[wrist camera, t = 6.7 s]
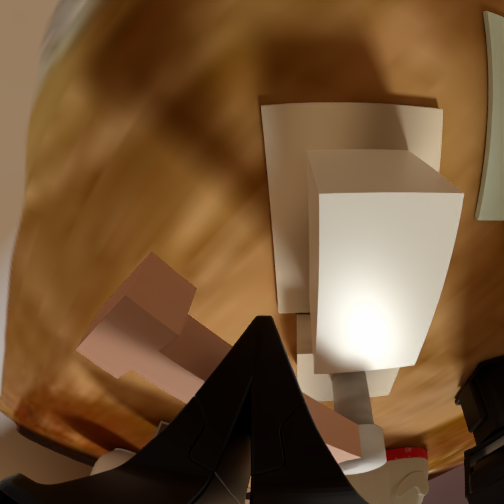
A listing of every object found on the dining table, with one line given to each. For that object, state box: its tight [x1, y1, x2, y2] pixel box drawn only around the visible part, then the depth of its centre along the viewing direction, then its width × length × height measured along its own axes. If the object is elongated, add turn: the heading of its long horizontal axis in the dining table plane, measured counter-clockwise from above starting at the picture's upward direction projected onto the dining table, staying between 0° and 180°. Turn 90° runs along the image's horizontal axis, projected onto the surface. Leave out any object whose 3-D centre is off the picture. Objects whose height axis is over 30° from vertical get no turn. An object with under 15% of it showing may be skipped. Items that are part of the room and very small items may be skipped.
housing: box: [261, 102, 443, 425], centre depth 13 cm, size 8×16×7 cm, turn 6°
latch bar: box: [76, 252, 387, 475], centre depth 10 cm, size 4×14×2 cm, turn 45°
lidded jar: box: [91, 448, 136, 475], centre depth 34 cm, size 11×11×9 cm
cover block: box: [306, 149, 464, 374], centre depth 12 cm, size 5×8×5 cm, turn 6°
